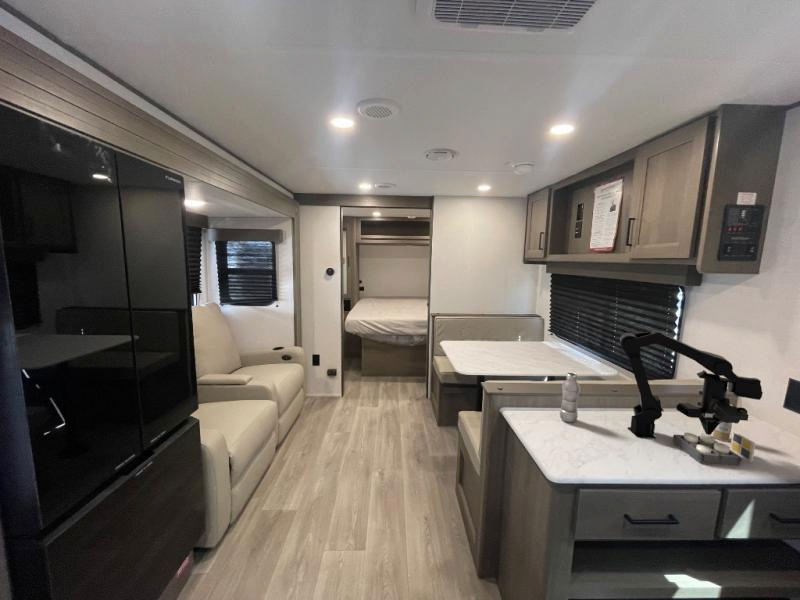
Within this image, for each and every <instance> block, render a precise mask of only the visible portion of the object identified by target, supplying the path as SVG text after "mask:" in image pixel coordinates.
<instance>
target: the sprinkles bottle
mask: <svg viewBox="0 0 800 600" xmlns="http://www.w3.org/2000/svg"><path fill="white" fill-rule="evenodd" d="M730 405H731V406H734V405H733V404H730ZM732 426H733V423H725V422H721V423H720V424H719V425H718V426H717V427H716V428H715V430H714V431H713V432H712V436H713V437H714V438H715V440H719V441H723V442H730V440H731V439H730V437H731V431H732Z"/></svg>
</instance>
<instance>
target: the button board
mask: <svg viewBox="0 0 800 600" xmlns="http://www.w3.org/2000/svg"><path fill="white" fill-rule="evenodd" d="M697 436H698V442H697V444H691V443H688V442H686V441H685V440H683V439H684V434H673V437H672V443H673V444H674V445H675V446H677V447H678V448H679V449H680V450H681V451H683V452H684V453H686V454H687V455H689V457H690V458H692V459H693V460H695V461H696V462H698V463H699V464H702V465H703V464H704V465H717V466H731V467H732V466H733V467H740V466H741V460H742V457H741V456H739V455H737V454H736V453H734V452H733V451H731V450H729V455H726V454H719V453H718V452H716V451H715V450H713V449H714V445H707V444H704V443H703V442H701V441H700V436H701V435H697ZM715 442H718V440H717V441H716V440H715ZM715 442H714V443H715ZM697 445H704V446H706V447H709V448H710V449H711V453H702V452H700V451H699V450H697V449H696V446H697Z"/></svg>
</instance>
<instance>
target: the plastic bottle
mask: <svg viewBox="0 0 800 600" xmlns="http://www.w3.org/2000/svg"><path fill="white" fill-rule="evenodd" d="M577 380H578V374H577V373H573V372H567V373H566V380H564V381H563V382H562V384H561V385H562V387H561V388H562V389H561V390H562V400H561V401H562V403H561V407H560V410H559V417H560V419H561V420H562V421H564V422H566V423H575V422H576V421H577V420H578V417H579V416H578V415H579V414H578V401H579V400H578V399H579V394H580V391H581V387H580V386H581V385H580V384H579V382H578V381H577Z"/></svg>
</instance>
